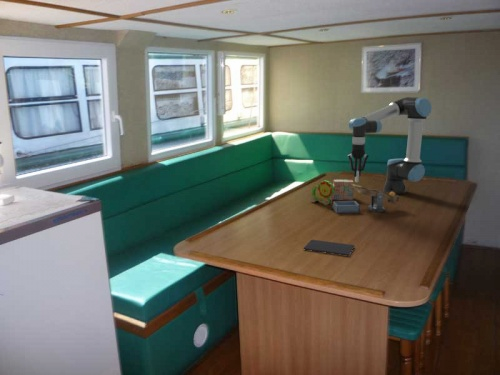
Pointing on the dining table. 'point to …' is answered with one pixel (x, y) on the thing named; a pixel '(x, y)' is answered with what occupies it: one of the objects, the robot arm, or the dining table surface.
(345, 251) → the notebook
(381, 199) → the fulcrum
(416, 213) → the dining table surface
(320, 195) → the toy lion
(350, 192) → the stack of blocks
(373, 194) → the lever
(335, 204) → the tray
